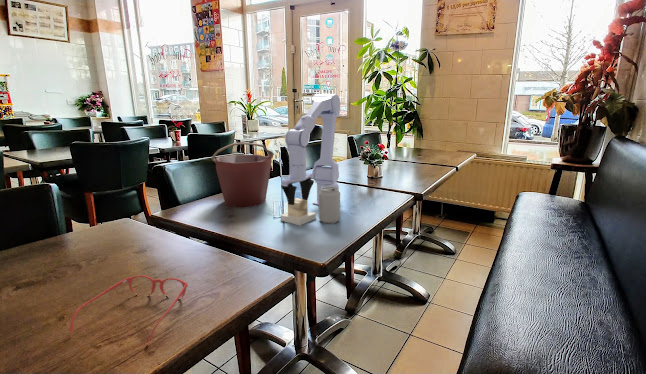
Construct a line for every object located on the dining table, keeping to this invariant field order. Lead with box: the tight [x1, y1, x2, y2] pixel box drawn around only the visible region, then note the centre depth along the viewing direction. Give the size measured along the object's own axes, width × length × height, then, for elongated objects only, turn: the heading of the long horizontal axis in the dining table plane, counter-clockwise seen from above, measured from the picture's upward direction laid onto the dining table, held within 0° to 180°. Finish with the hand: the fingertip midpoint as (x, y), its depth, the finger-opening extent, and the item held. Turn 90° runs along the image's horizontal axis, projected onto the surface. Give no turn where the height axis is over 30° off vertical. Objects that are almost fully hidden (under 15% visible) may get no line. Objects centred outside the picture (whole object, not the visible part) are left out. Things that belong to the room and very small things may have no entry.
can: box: [318, 187, 341, 224], centre depth 123 cm, size 8×8×12 cm
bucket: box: [211, 142, 275, 209], centre depth 143 cm, size 24×22×25 cm
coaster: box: [280, 211, 317, 226], centre depth 125 cm, size 9×9×2 cm
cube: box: [287, 197, 309, 217], centre depth 124 cm, size 5×5×5 cm
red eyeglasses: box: [69, 274, 188, 344], centre depth 68 cm, size 17×16×5 cm
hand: (298, 201), depth 124 cm, fingers open, 7 cm apart
